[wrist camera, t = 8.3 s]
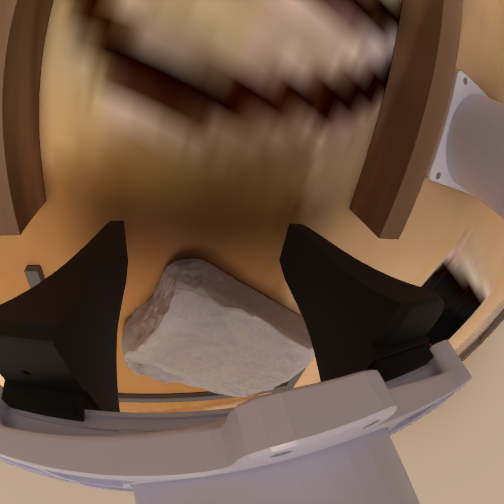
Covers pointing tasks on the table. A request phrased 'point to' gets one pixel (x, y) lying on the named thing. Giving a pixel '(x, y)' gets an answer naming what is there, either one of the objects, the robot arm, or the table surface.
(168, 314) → the stone block
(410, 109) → the frame
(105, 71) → the table surface
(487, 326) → the picture frame
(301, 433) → the robot arm
